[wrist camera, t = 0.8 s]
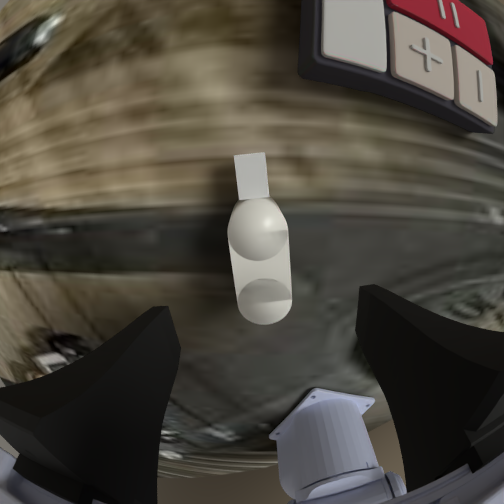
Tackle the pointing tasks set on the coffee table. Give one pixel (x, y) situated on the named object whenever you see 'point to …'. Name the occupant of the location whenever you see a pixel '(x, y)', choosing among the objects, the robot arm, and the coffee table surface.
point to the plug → (259, 245)
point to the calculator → (404, 55)
